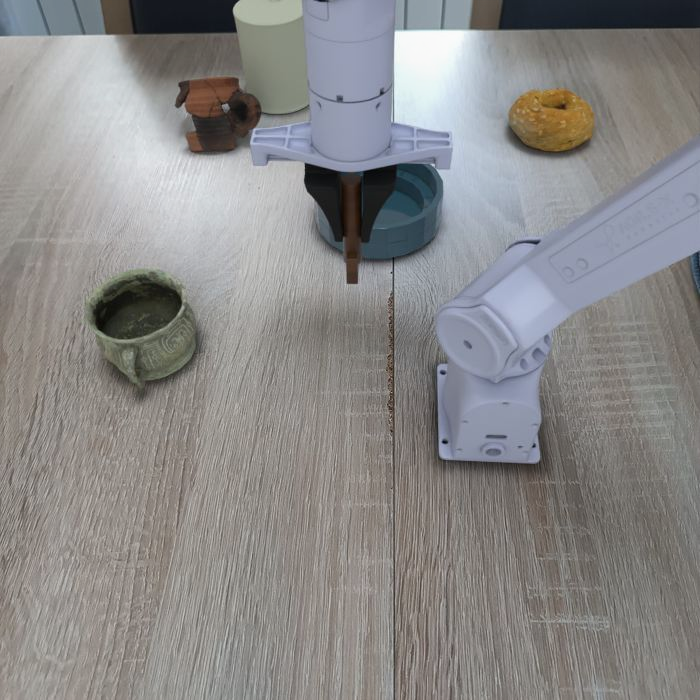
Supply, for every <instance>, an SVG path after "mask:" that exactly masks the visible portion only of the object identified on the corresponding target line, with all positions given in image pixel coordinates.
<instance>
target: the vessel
mask: <svg viewBox="0 0 700 700" xmlns="http://www.w3.org/2000/svg"><path fill="white" fill-rule="evenodd" d="M83 310H84V311H83V313H84V321H85V323H86V325H87V326H88V328H89V330H90V332H93V333H94V335H95V342H96V345H97V346H98V349H99V350H100V352H101V354H102V356H103V357H104V358H105V359H106V360H107V361H109V362H110V363H112V364H113V365H115V366H116V367H117V369H118V370H119V371H120V372H121V373H123V374H124V375H126V376H127V378H128V380H129V382H131V383H132V384H136V385H137V386H138V388H139V389H144V388H145V386H146V381H155V380H159V379H163V378H166V377H168V376H170V375H172V374H174V373H175V372H177V371H179V370H181V369H182V368H183V367H184V366H185V365H186V364H187V363H188V362H189V361H191V359H192V357H193V355H194V353H195V352H196V349H197V343H196V341H197V340H196V334H197V322H196V315H195V312H194V310H193V309H192V307H191V305H190V304H189V303H188V297H187V293H186V288H185V286H184V285H183V283H182V282H181V281H180V279H179V278H177V277H176V276H174V275H173V274H170V273H169V272H167V271H164V270H161V269H156V268H148V267H147V268H145V267H144V268H143V267H142V268H135V269H130V270H127V271H122V272H121V273H119V274H116V275H115V276H113V277H111V278H109V279H106V280H105V281H103V282H102V283H101V284H100V285H98V286H97V287H95V289H94V290H93V291H92V293H91V294H90V296H89V297H88V299H87V300H86V302H85V305H84V309H83Z"/></svg>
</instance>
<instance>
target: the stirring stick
mask: <svg viewBox="0 0 700 700" xmlns="http://www.w3.org/2000/svg"><path fill="white" fill-rule="evenodd" d="M341 197H342V223H343V251H342V252H343V253H342V255H343V261H344V263H345V272H346V273H345V274H346V275H345V277H346V279H345V281H346V284H347V285H358V284H359V277H360V276H359V275H360V264H361V263H362V262H363V257H362V243H361V226H362V178H361V176H360V175H358V174H356V173H347V174H345V175H343V176H342V178H341Z"/></svg>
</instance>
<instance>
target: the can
mask: <svg viewBox="0 0 700 700" xmlns="http://www.w3.org/2000/svg"><path fill="white" fill-rule="evenodd" d="M232 14H233V17H234V22H235V28H236V34H237V40H238V46H239V52H240V57H241V64H242V70H243V76H244V85H245V91H246V92H245V93H249V94H252V95H254V96H255V97H256V98H257V99H258V101H259V102H260V105H261V110H262V113H263V114H268V115H269V114H270V115H287V114H291V113H295V112H299V111H300V110H303V109H305V108H307V107H309V96H308V81H307V69H306V55H305V41H304V27H303V12H302V0H238V1H237V2H236V3H235V4H234V6H233V8H232Z"/></svg>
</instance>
